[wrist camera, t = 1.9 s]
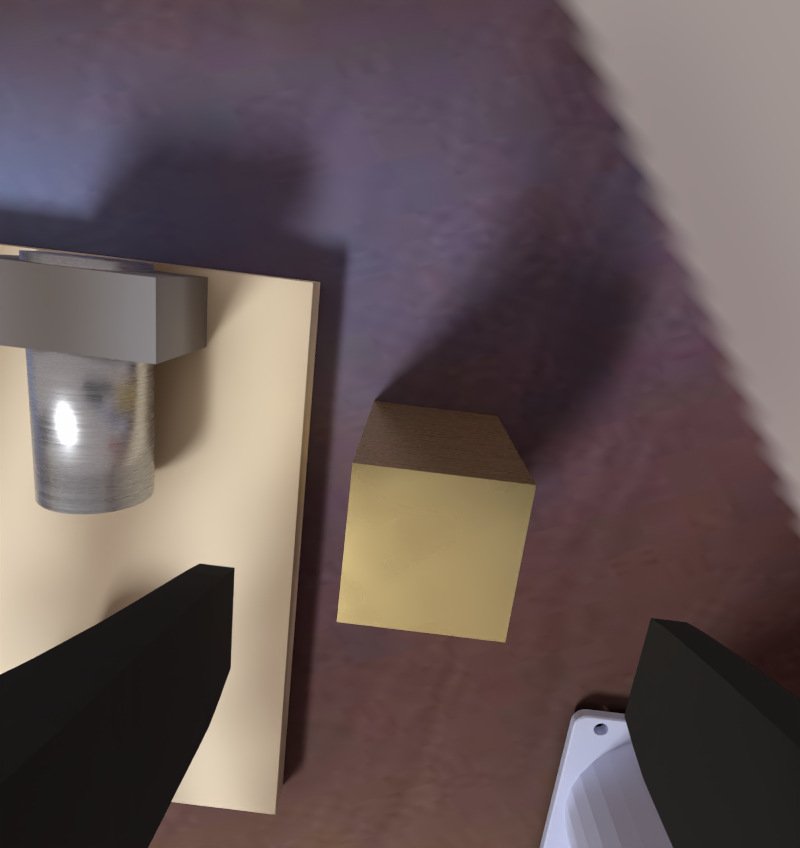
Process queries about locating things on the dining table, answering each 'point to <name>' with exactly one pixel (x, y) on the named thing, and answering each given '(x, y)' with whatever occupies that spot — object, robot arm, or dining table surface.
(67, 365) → the shaft straight
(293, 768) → the dining table surface
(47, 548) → the board
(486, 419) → the yellow rectangular block
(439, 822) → the dining table surface
